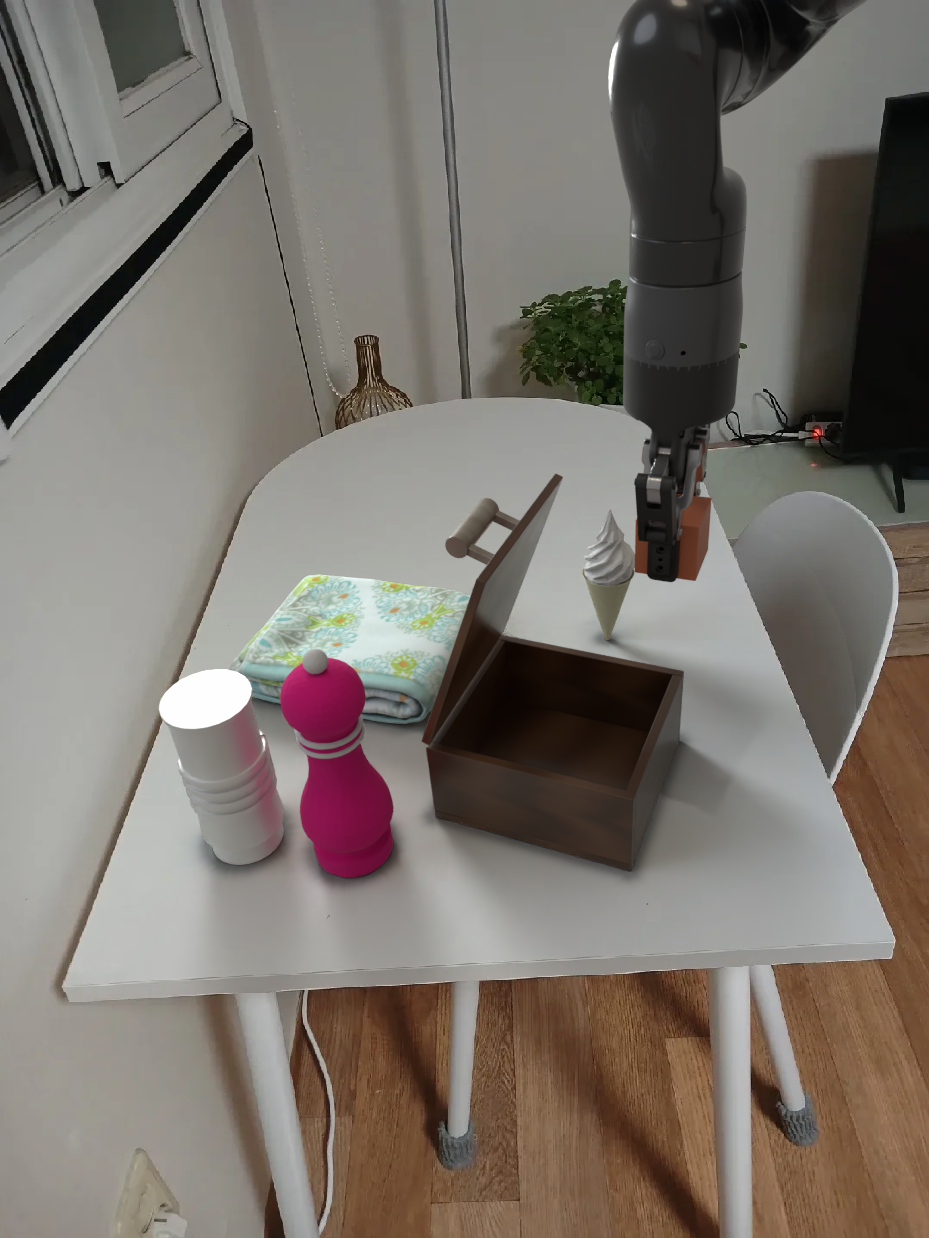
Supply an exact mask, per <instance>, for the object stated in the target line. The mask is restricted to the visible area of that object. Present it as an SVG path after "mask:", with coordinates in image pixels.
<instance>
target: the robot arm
mask: <svg viewBox="0 0 929 1238" xmlns="http://www.w3.org/2000/svg"><path fill="white" fill-rule="evenodd" d="M867 1H868V0H635V1H633V3H632V4H631V5H630V6H629V8H628V9H627V10H626V12H625V13H624V14H623V16H622V18H621V20H620V22H619V23H618V24H619V25H618V27H617V28H616V32H615V35H614V38H613V41H612V46H611V51H610V55H609V62H608V68H607V70H608V71H607V94H608V95H607V97H608V107H609V113H610V119H611V124H612V129H613V134H614V135H613V136H614V140H615V143H616V150H617V154H618V159H619V164H620V169H621V174H622V178H623V181H624V186H625V189H626V193H627V197H628V200H629V205H630V215H629V246H628V247H629V249H628V250H629V252H628V254H629V256H628V280H627V281H628V282H627V289H626V294H625V303H624V313H623V314H624V317H623V373H622V375H623V376H622V377H623V378H622V379H623V380H622V381H623V382H622V404H623V405H622V406H623V409H624V411H625V412H626V413H627V414H628V415H629V416H630V417H631V418H633V419H634V420H636V421H639V422H641V423H643V424H644V425H646V426H647V427H648V429H650V430H651V433H650V438H648V437H647V438H646V437H645V438H644V440H643V444H642V451H641V463H642V465H643V472H637V474H636V477H635V478H634V484H633V485H634V492H635V493H634V494H635V505H636V506H635V507H636V518H637V523H638V538H639V541H644V542H648V557H647V574H646V576H647V577H648V578H649V579H650V580H653V581H659V582H665V583H674V582H675V581H676V580H677V576H678V573H679V555H680V537H681V536H682V534H683V529H682V525H683V516H684V509H686V508H688V507H689V506H690V505H691V504H692V501H693V496H700V497H701V494H702V489H701V483H704V479H706V476H707V471H706V469H707V459H708V451H709V443H710V440H711V426H712V425H711V424H713V423H714V424H715V423H717V422H718V421H721V420H722V419H724V418H726V417H727V416H728V415H729V414H730V413H731V412H732V411H733V409H734V407H735V405H736V396H737V385H738V373H739V361H740V350H741V349H740V348H741V340H742V339H741V338H742V337H741V336H742V326H743V314H744V313H743V312H744V297H743V296H744V293H743V264H744V255H745V243H746V242H745V241H746V229H747V215H748V206H747V205H748V202H747V201H748V199H747V195H748V194H747V187H746V183H745V181H744V179H743V178H742V176H741V175H740V174H739V173H738V172H737V171H736V170H734V169H732V168H730V167H728V166H725V165H724V156H723V144H722V143H723V142H722V127H721V122H722V121H721V118H722V117H723V116H726V115H728V114H730V113H733V112H736V111H737V110H739V109H741V108H743V107H744V106H746V105H747V104H749V103H751V102H753V100H755V99H756V98H758V97H759V96H760V95H762V94H763V93H764V92H766V91H767V90H768V89H769V88H771V87H772V86H773V85H774V84H776V82H778V81H779V80H780V79H782V77H784V75H786V74H787V73H788V72H790V70H791V69H793V67H795V66H796V65H797V64H798V63H799V62H800V61H801V60H802V59H803V58H804V57H805V56H806V55H807V54H808V53H809V52H810V51H811V50H812V49H813V48H814V47H815V46H816V45H817V44H818V43H820V41H822V39H823V38H824V37H826V35H828V33H829V32H830V30H832V29H833V28H834V26H835V25H836V24H838V22H839V21H840V20H842V18H844V17H846V16H847V15H848V14H849V13H851V12H853V11H854V10H856V9H858V8H859V7H861V6H862V5H863V4H865V3H866V2H867ZM676 494H682V495H676Z"/></svg>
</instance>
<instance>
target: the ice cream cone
mask: <svg viewBox="0 0 929 1238" xmlns="http://www.w3.org/2000/svg"><path fill="white" fill-rule="evenodd" d="M595 538H596V543H595V544H593V545H589V546H587V550H589V551H591V553H590V554H587V555H584V556H583V559H584V560H585V561H587V562H586V563H585V564H584V566H583V568H582V570H581V575H582V577H583V579H584V581H585V584H586V586H587V590H588V592H589V596H590V599H591V602H592V605H593V608H594V611H595V614H596V617H597V620H598V623H599V626H600V628H601V632H602V634H603V638H604V640H606V641H609V640H610V639H611V636H612V633H613V630H614V628H615V626H616V623H617V619H618V617H619V615H620V613H621V612H620V611H621V609H622V605H623V603H624V600H625V597H626V595H627V592H628V590H629V586H630V584H631V581H632V579H633V578H634V577H635V551H634V550H633V548H632V546H631V545H630V544H629V543H627V542H626V541H625V533H624V532H623V531H622V529H621V528H620V527H619V526H618V523H617V522H616V520H615V517H614V514H613V512H612V509H609V511H608V512H607V515H606V516H605V519H604V521H603V523H602V525H601V527H600V528H599V529H598V531H597V534H596V535H595Z"/></svg>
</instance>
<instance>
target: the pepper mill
mask: <svg viewBox="0 0 929 1238" xmlns="http://www.w3.org/2000/svg"><path fill="white" fill-rule="evenodd" d="M365 699H366V696H365V689H364V685H363V682H362V680H361V678H360V676H359V675H358V673H357V672H356V671H355V669H354V668H353V667H351V666H350V665H348V664H347V663H345V662H343V661H341V660H338V659H334V658H328V657H327V655H326V654H325V652H323V651H322V650H320V649H311V650H309V651H307V652H306V653H305V655H304V656H303V660H302V664H300V665H298V666H297V667H296V668H294V669H293V670H292V671H291V672H290V674H289V675H288V676H287V677H286V679H285V681H284V683H283V685H282V688H281V693H280V710H281V713H282V716H283V718H284V719H285V721H286V722H287V724H288V725H289V726H290V727H291V728H292V729H293V732H294V736H295V738H296V745H297V747H298V749H299V750H300V751H301V752H302V753H303V754H305V755H306V758H307V765H308V770H307V771H308V773H307V779H306V782H305V784H304V786H303V790H302V793H301V796H300V803H299V816H300V822H301V823H300V824H301V827H302V830H303V832H304V833H305V835H306V837H307V838H308V839H309V840H310V841H311V842H312V844H313V849H314V852H315V857H316V860H317V862H318V864H319V865H320V867H322V869H323V870H324V871H326V872H327V873H329V874H331V875H334V876H336V877H338V878H339V877H340V878H358V877H359V878H360V877H362V876H364V875H365V876H366V875H368V874H371V873H372V872H374V871H376V870H378V869H379V868H380V867H381V866H383V864H384V863H386V861H387V860H388V858H389V857H390V856H391V853H392V852H393V851H392V850H393V849H394V848H393V847H394V837H393V831H392V825H391V822H392V820H393V815H394V801H393V797H392V794H391V791H390V787H389V786H388V784H387V782H386V780H385V779H384V777H383V776H382V774H381V773H380V772H379V771H378V770H377V769H376V768H375V767H374V766H373V764H372V763H371V762H370V761H369V759H368V758H367V756H366V755H365V752H364V749H363V746H362V741H363V739H364V737H365V734H366V726H365V724H364V719H363V716H362V714H361V713H362V711H363V709H364V706H365Z"/></svg>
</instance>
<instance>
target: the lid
mask: <svg viewBox="0 0 929 1238" xmlns="http://www.w3.org/2000/svg"><path fill="white" fill-rule="evenodd" d="M563 479H564V478H563V476H562V475H561V474H558V473H554V474H553V476H552V477H551V478H550V480H549V481H548V482H547V484H546V485H545V486H544V488H543V489H542V490H541V492H540V493H539V494H538V496H537V498H536V499H534V501H533V502H532V504H531V505H530V506H529V508H528V509H527V511H526V512H525V513H524V515H523V516H522V517H521V518H520V520H519V519H517V518H515V517H513V516H511V515H509V514H507V513H505V512H504V511H501V510H500V508H499V505H498V503H497V502H496V501H495V500H493V499H492V498H489V497H483V498H481V499H479V500H478V502H477V503H476V504H475V505H473V507H472V509H471V510H470V511H469V512H468V513H467V515H466V516H465V517H464V518H463V520H462V521H460V523H459V524H458V525H457V527H456V528H455V529H454V530H452V533H450V535H449V536H448V537H447V538H446V539H445V542H444V546H445V547H444V548H445V550H446V551H447V553H448V554H449V555H450V556H451V557H453V558H455V559H463V558H465V557H466V556H467V557H470V558H471V559H474V560H476V561H477V562H480V563H482V564H484V565H485V567H484V568H483V569H482V571H481V572H480V573H479V574H478V575H477V577H476V579H475V581H474V584H473V588H472V591H471V593H470V595H471V596H470V599H469V602H468V605H467V608H466V611H465V614H464V617H463V620H462V623H461V626H460V629H459V632H458V634H457V637H456V640H455V643H454V646H453V649H452V652H451V655H450V658H449V661H448V664H447V667H446V670H445V673H444V676H443V679H442V682H441V685H440V688H439V691H438V694H437V697H436V699H435V702H434V705H433V708H432V710H431V711H430V715H429V718H428V720H427V723H426V726H425V729H424V732H423V735H422V739H421V743H423V744H425V745H426V746H427V745H430V743H431V742H432V740H433V739H434V737H435V736H436V734H437V733H438V731H439V729H440V728H441V726H442V725H443V723H444V722H445V720H446V719H447V717H448V716H449V714H450V713H451V711H452V710H453V708H454V707H455V705H456V704H457V702H458V701H459V699H460V698H461V696H462V695H463V693H464V692H465V690H466V688H467V687H468V685H469V684H470V682H471V681H472V679H473V678H474V676H475V675H476V673H477V672H478V670H479V669H480V667H481V666H482V664H483V663H484V661H485V660H486V658H487V657H488V655H489V654H490V652H491V650H492V649H493V647H494V646H495V644H496V643H497V641H498V640H499V638H500V637H501V635H504V632H505V630H506V627H507V624H508V622H509V620H510V616H511V614H512V611H513V610H514V609H513V608H514V606H515V604H516V601H517V598H518V596H519V594H520V591H521V588H522V585H523V583H524V581H525V577H526V575H527V572H528V570H529V567H530V566H531V565H530V564H531V563H532V560H533V557H534V555H535V552H536V549H537V547H538V544H539V541H540V539H541V537H542V534H543V531H544V529H545V526H546V523H547V520H548V518H549V516H550V513H551V511H552V508H553V506H554V502H555V500H556V497H557V495H558V492H559V488H560V487H561V485H562V482H563ZM493 523H495V524H497V525H499V526H502V528H504V529H505V528H506V529H507V530H509V531H511V532H510V533H509V534H508V535H507V537H506V538H505V540H504V542H503V543H502V544H501V545H500V547H499V548H498V549H497V550H496V552H495V554H494V553H492V552H490V551H488V550H486V549H484V548H482V547H480V546H478V545H476V544H477V543H478V541H479V540H480V539H481V538H482V536H483V535H484V534H485V533H486V531H487V530H488V529H489V528H490V526H491V525H492V524H493Z"/></svg>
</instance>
